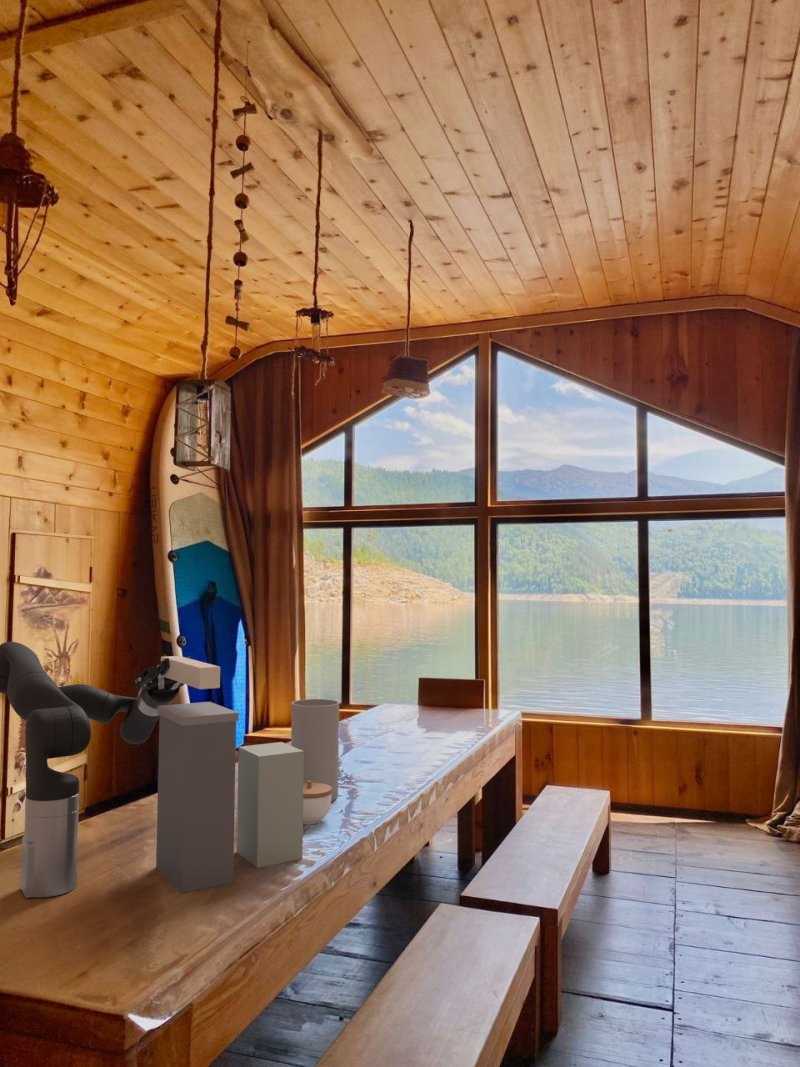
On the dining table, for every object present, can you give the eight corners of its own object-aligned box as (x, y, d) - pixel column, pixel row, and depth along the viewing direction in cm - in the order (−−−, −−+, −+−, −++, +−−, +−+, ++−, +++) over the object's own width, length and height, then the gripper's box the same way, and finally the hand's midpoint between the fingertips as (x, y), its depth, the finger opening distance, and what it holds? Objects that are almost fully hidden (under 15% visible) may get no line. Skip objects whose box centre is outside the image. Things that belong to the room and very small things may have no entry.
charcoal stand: (178, 893, 149) (182, 717, 151) (153, 867, 163) (157, 705, 164) (235, 882, 155) (238, 712, 157) (206, 857, 168) (209, 701, 170)
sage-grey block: (257, 867, 163) (259, 756, 164) (236, 852, 172) (238, 746, 173) (302, 858, 168) (303, 751, 169) (280, 843, 177) (281, 741, 179)
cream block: (199, 689, 154) (199, 667, 154) (160, 675, 175) (160, 656, 175) (219, 687, 156) (220, 666, 156) (178, 674, 177) (179, 655, 177)
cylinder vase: (285, 794, 218) (287, 700, 219) (330, 790, 222) (331, 698, 224) (296, 806, 206) (298, 707, 208) (343, 802, 211) (344, 704, 212)
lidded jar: (337, 816, 198) (338, 777, 199) (321, 829, 188) (322, 788, 188) (297, 812, 201) (297, 774, 202) (279, 825, 191) (279, 784, 191)
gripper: (123, 680, 181) (142, 646, 169) (186, 676, 189) (208, 643, 177) (126, 712, 177) (146, 680, 165) (190, 707, 185) (214, 675, 173)
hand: (178, 661), depth 171 cm, fingers closed on cream block, 4 cm apart
